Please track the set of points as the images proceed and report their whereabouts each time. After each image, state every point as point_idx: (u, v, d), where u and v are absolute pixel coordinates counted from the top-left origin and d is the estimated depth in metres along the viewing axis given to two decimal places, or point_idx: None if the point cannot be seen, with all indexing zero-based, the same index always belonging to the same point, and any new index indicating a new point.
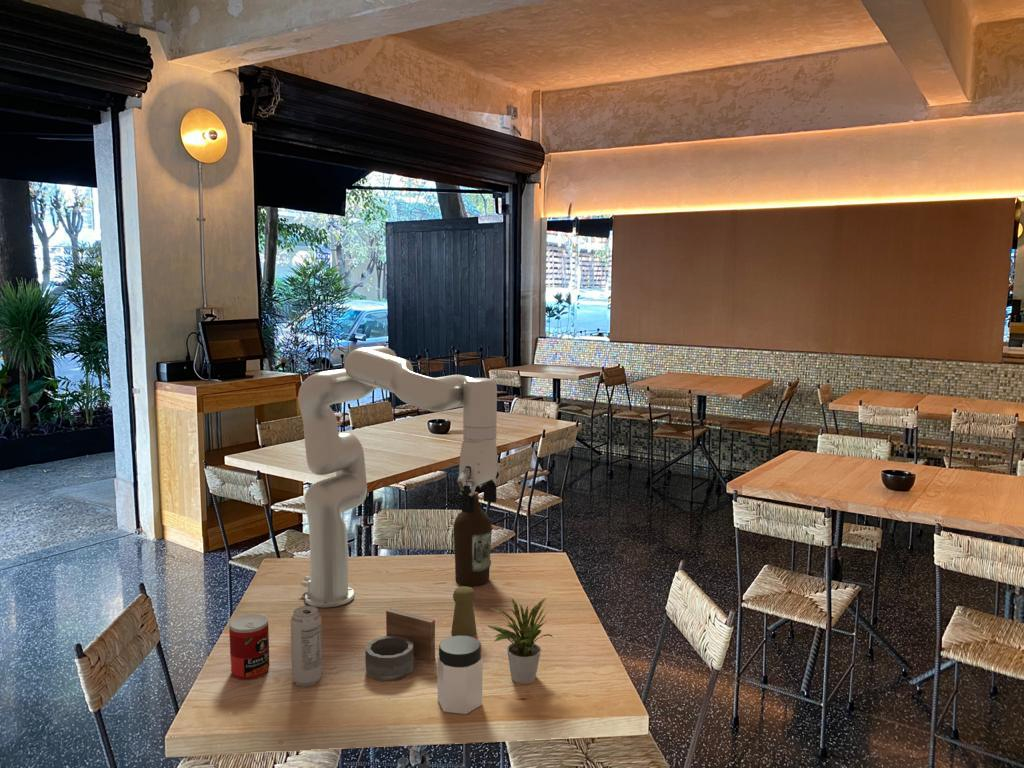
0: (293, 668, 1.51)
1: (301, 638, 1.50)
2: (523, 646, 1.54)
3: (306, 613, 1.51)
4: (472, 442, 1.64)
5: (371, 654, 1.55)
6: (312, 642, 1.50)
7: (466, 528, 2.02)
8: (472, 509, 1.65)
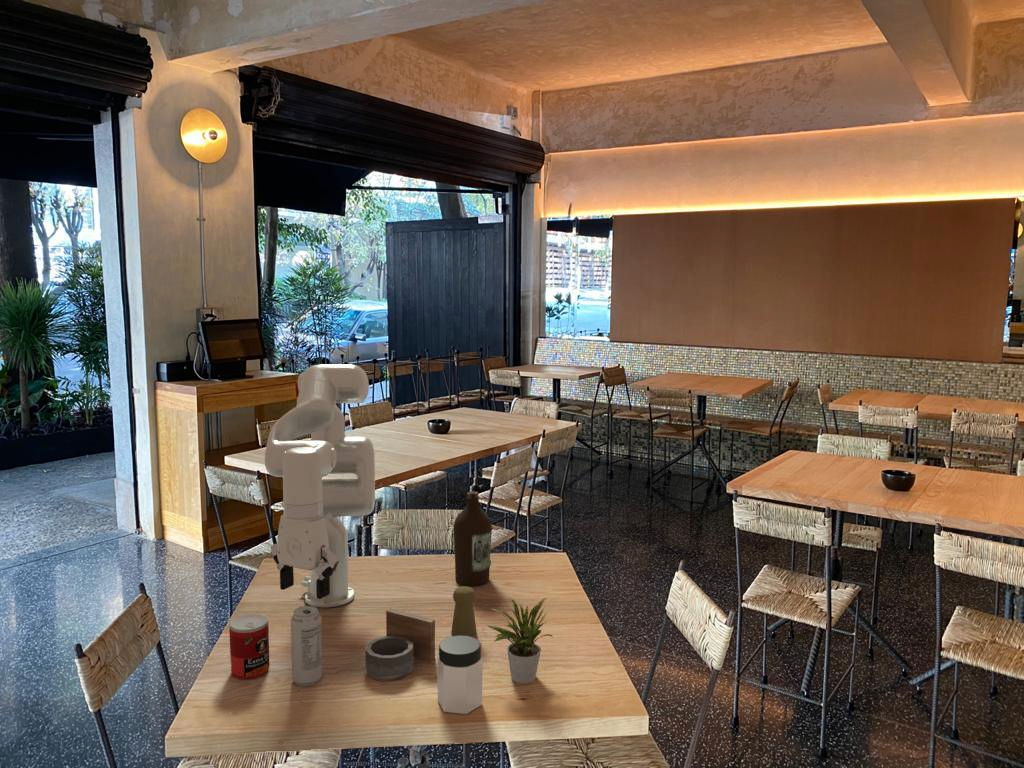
0: (293, 668, 1.51)
1: (301, 638, 1.50)
2: (523, 646, 1.54)
3: (306, 613, 1.51)
4: (320, 518, 1.48)
5: (371, 654, 1.55)
6: (312, 642, 1.50)
7: (466, 528, 2.02)
8: None
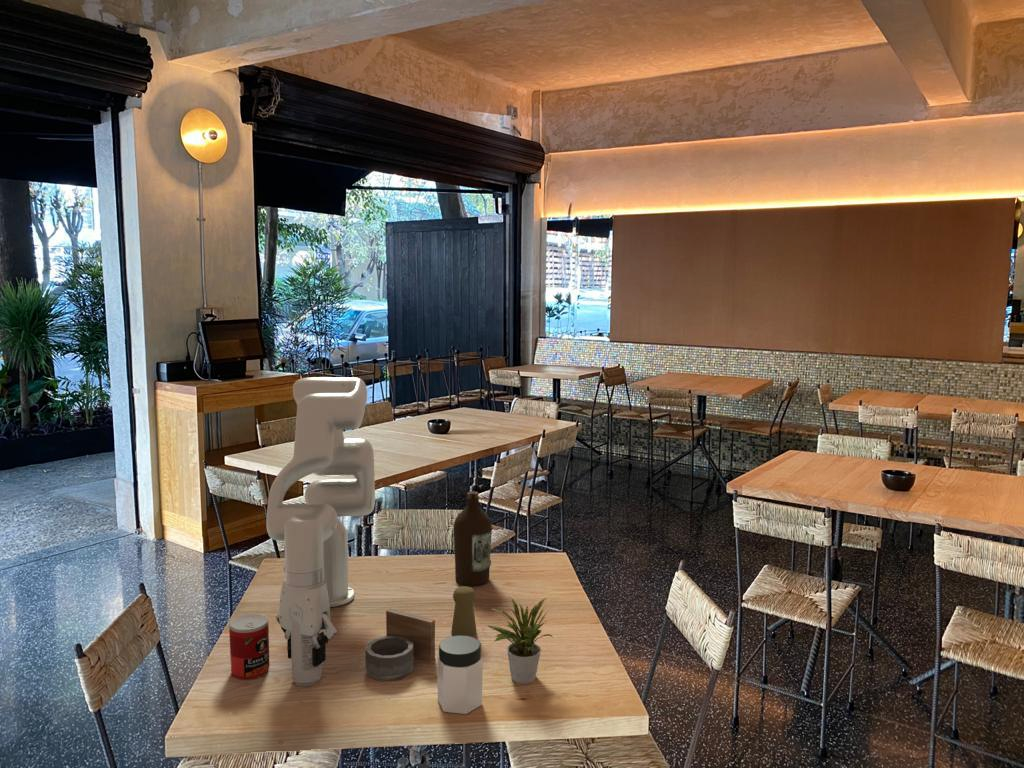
0: (293, 668, 1.51)
1: (301, 638, 1.50)
2: (523, 646, 1.54)
3: None
4: (321, 585, 1.50)
5: (371, 654, 1.55)
6: (312, 642, 1.50)
7: (466, 528, 2.02)
8: None
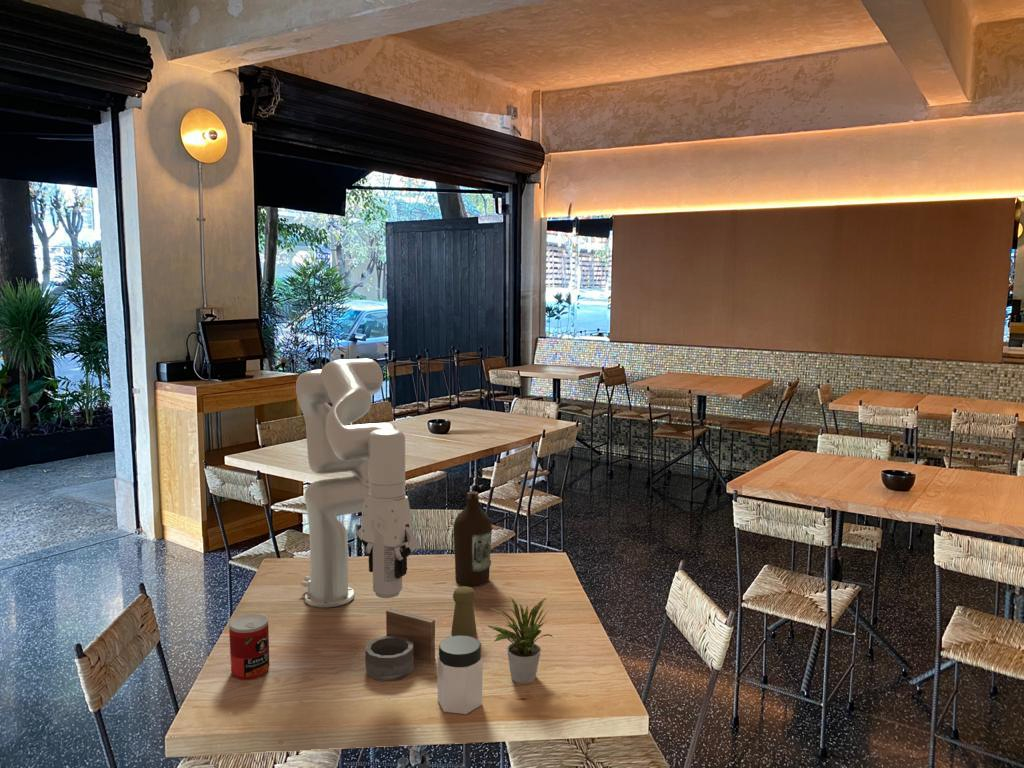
0: (375, 580, 1.54)
1: (384, 550, 1.52)
2: (523, 646, 1.54)
3: None
4: (404, 498, 1.53)
5: (371, 654, 1.55)
6: (394, 554, 1.53)
7: (466, 528, 2.02)
8: None
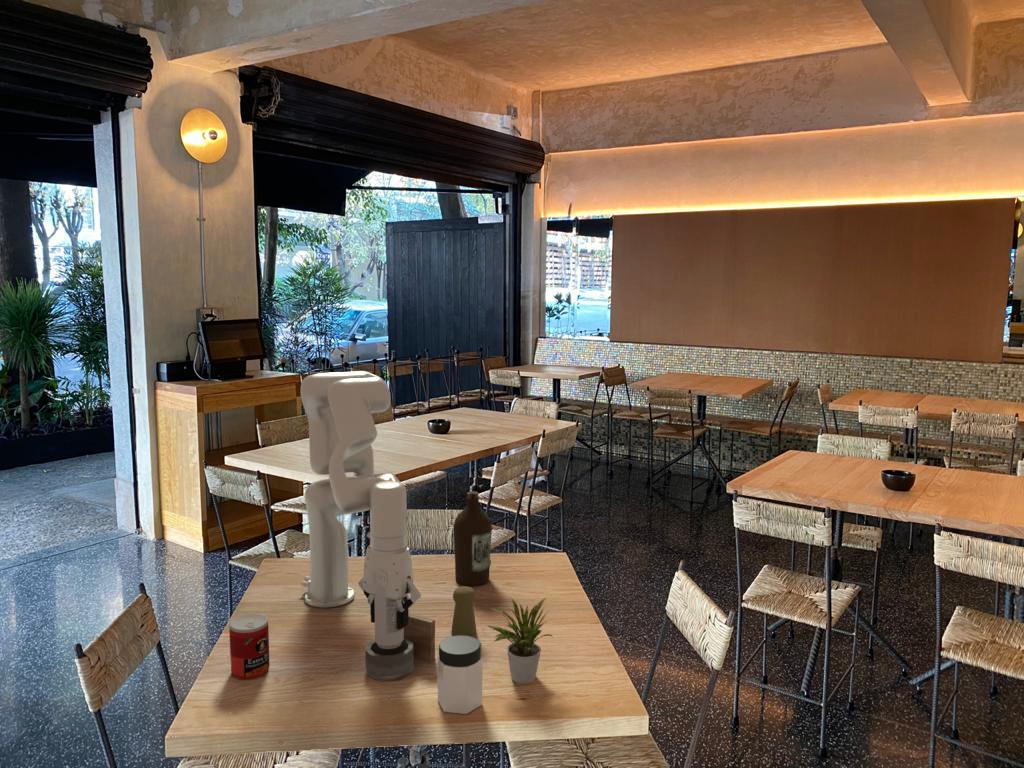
0: (377, 631, 1.56)
1: (386, 602, 1.54)
2: (523, 646, 1.54)
3: None
4: (405, 550, 1.54)
5: (371, 654, 1.55)
6: (396, 606, 1.55)
7: (466, 528, 2.02)
8: None
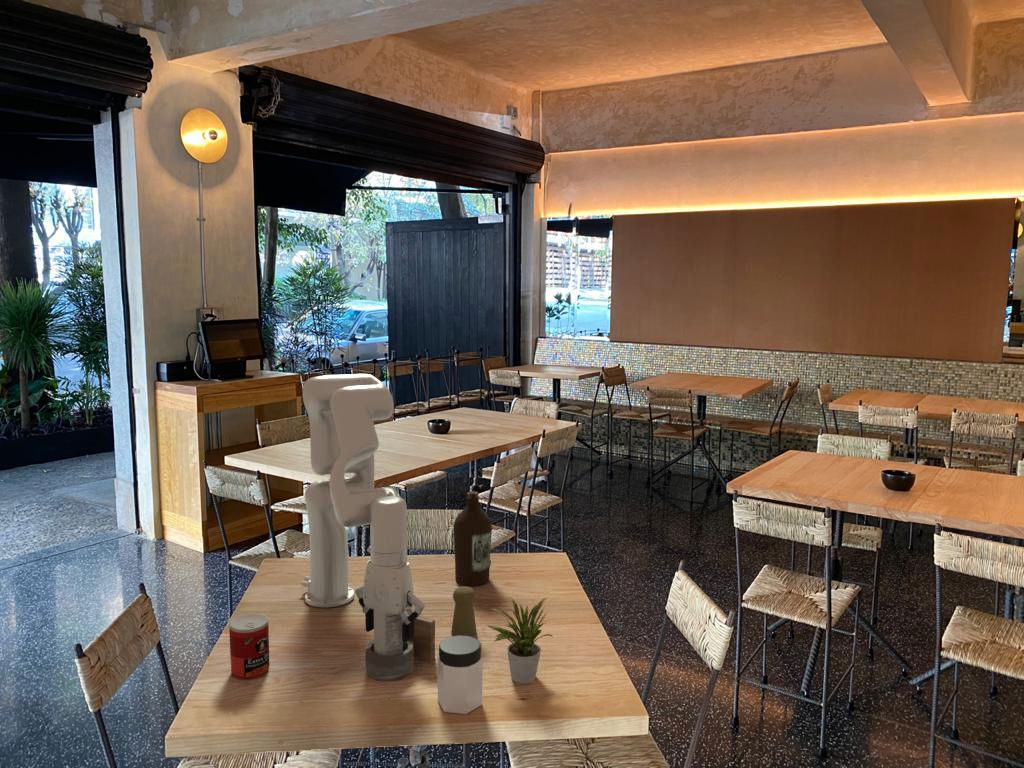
0: (376, 652, 1.56)
1: (385, 623, 1.55)
2: (523, 646, 1.54)
3: None
4: (406, 565, 1.55)
5: (371, 654, 1.55)
6: (395, 627, 1.55)
7: (466, 528, 2.02)
8: None
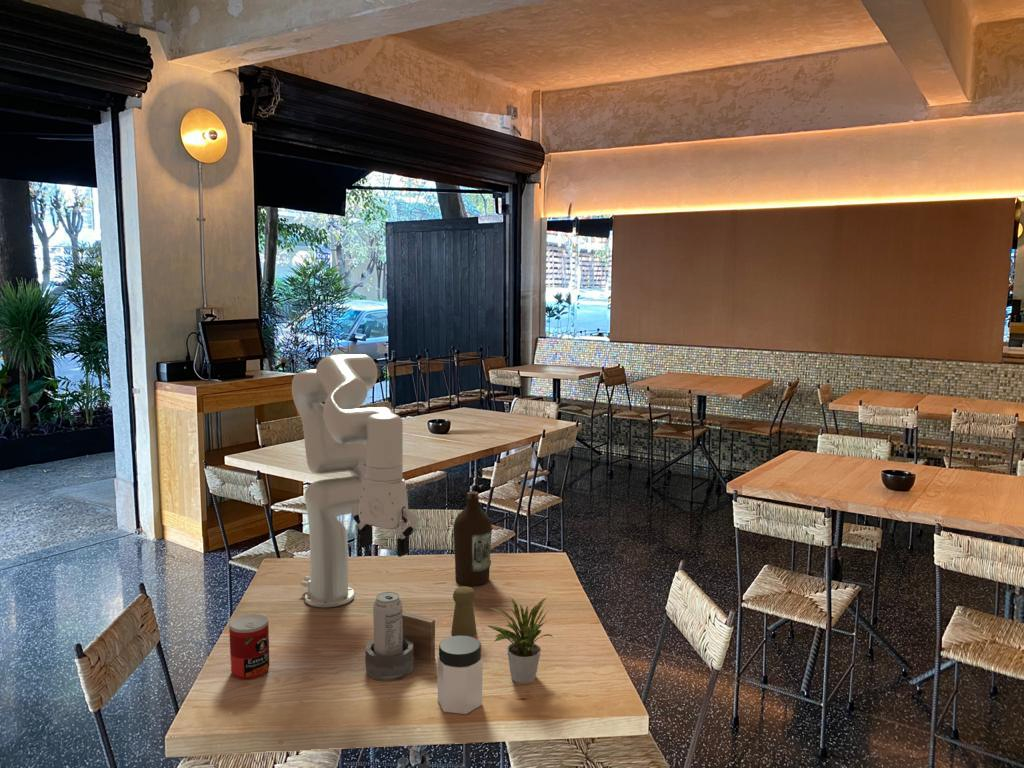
0: (376, 652, 1.56)
1: (385, 623, 1.55)
2: (523, 646, 1.54)
3: (389, 599, 1.56)
4: (401, 481, 1.56)
5: (371, 654, 1.55)
6: (395, 627, 1.55)
7: (466, 528, 2.02)
8: None
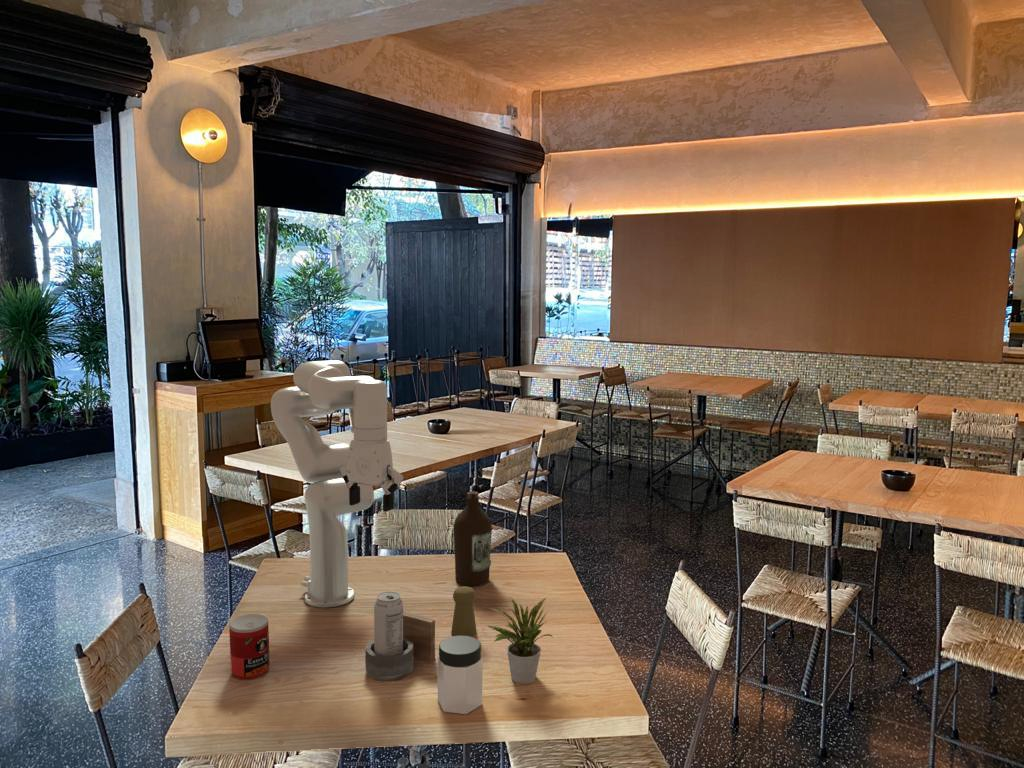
0: (376, 652, 1.56)
1: (386, 622, 1.55)
2: (523, 646, 1.54)
3: (390, 599, 1.56)
4: (386, 441, 1.69)
5: (371, 654, 1.55)
6: (395, 627, 1.55)
7: (466, 528, 2.02)
8: None
